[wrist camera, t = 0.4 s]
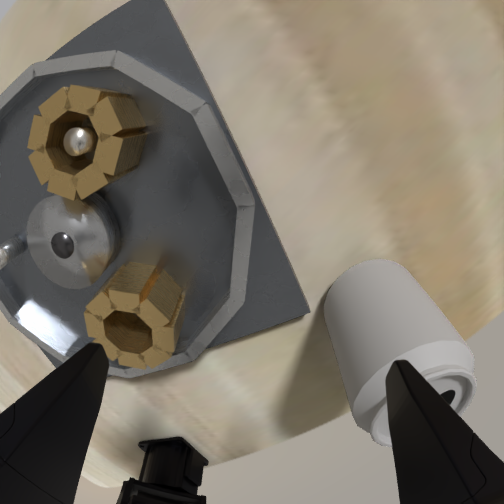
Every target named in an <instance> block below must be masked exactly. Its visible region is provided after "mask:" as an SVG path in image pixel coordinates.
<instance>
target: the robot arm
mask: <svg viewBox="0 0 504 504" xmlns="http://www.w3.org/2000/svg"><path fill="white" fill-rule="evenodd" d="M108 370H109V359H108V357H107V355H106V352H105V350H104V347H103V345H102V344H100V343H94V342H90V343H88V344H86V345H85V346H84V347H83V348H81V349H80V350H79V351H78V352H76V353H75V354H74V355H73V356H71V357H70V358H69V359H67V360H66V361H65V362H64V363H62V364H61V365H60V366H59V367H57V368H56V369H55V370H54V371H52V372H51V373H50V374H49V375H47V376H46V377H45V378H44V379H43V380H41V381H40V382H39V383H38V384H36V385H35V386H34V387H33V388H31V389H30V390H29V391H28V392H27V393H25V394H24V395H23V396H22V397H20V398H19V399H18V400H17V401H16V402H15V403H13V404H12V405H11V406H9V407H8V408H7V409H6V410H4V411H3V412H2V413H1V414H0V504H73V503H74V499H75V494H76V490H77V486H78V482H79V478H80V475H81V471H82V467H83V464H84V460H85V456H86V453H87V449H88V446H89V443H90V439H91V436H92V432H93V429H94V426H95V423H96V420H97V416H98V413H99V410H100V406H101V402H102V397H103V393H104V388H105V383H106V379H107V374H108ZM385 386H386V398H387V411H388V424H389V431H390V437H391V443H392V449H393V455H394V461H395V468H396V475H397V483H398V490H399V499H400V504H504V463H503V461H502V460H500V459H499V458H498V457H497V456H496V455H495V454H494V453H493V452H492V451H491V450H490V449H489V448H488V447H487V446H486V445H485V443H484V442H483V441H482V440H481V439H480V438H479V437H478V436H477V435H476V434H475V433H473V430H472V429H471V428H470V427H469V426H468V425H467V424H466V423H465V421H464V420H463V419H462V418H461V417H460V416H459V415H458V414H457V413H456V412H455V410H454V409H453V408H452V407H451V406H450V405H449V404H448V403H447V402H446V401H445V400H444V398H443V397H442V396H441V395H440V394H439V393H438V392H437V391H436V390H435V389H434V388H433V387H432V386H431V384H430V383H429V382H428V381H427V380H426V379H425V378H424V377H423V376H422V375H421V374H420V373H419V372H418V371H417V370H416V369H415V368H414V366H413V365H412V364H411V363H410V362H409V361H408V360H405V359H402V360H395V361H394V362H393V363H392V365H391V367H390V369H389V371H388V373H387V375H386V379H385ZM138 446H139V447H140V448H141V449H142V450H143V451H145V452H146V453H145V457H144V461H143V465H142V469H141V473H140V477H139V480H135V478H131V477H130V479H129V481H124V482H123V486H122V489H121V492H120V495H119V498H118V500H117V503H116V504H206V496H203V495H201V496H200V495H197V490H198V486H201V482H202V474H203V466H207V465H208V460H206V459H205V458H204V457H203V456H202V455H201V454H200V453H199V452H198V451H196V450H195V449H194V448H193V447H192V446H191V445H190V444H189V443H188V442H187V441H186V440H185V439H184V438H182V437H173V438H166V439H159V440H151V441H142V442H139V444H138Z"/></svg>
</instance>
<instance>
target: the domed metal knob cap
mask: <svg viewBox="0 0 504 504" xmlns="http://www.w3.org/2000/svg"><path fill="white" fill-rule="evenodd" d="M27 243H28V247H29V250H30V253H31V256H32V258H33V260H34V262H35V263H36V265H37V267H38V268H39V269H40V270H41V272H42V273H43V274H44V275H45V276H46V277H47V278H48V279H50V280H51V281H52V282H54V283H56V284H57V285H59V286H62V287H65V288H68V289H82V288H86V287H88V286H90V285H92V284H93V283H94V282H96V281H97V280H98V278H99V277H100V276H101V275H102V274H103V272H104V271H105V270H106V269H107V268H108V267H109V266H110V264H111V263H112V262H113V261H114V259H115V258H116V256H117V253H118V251H119V247H120V229H119V224H118V221H117V218H116V216H115V214H114V212H113V210H112V209H111V207H110V206H109V204H108V203H107V202H106V201H105V200H104V199H103V198H102V197H101V196H100V195H99V194H97V193H93V194H91V195H89V196H88V197H86V198H84V199H82V200H81V198H78V199H76V200H75V201H73V200H70V199H68V198H65V197H62V196H60V195H57V194H53V195H51V196H49V197H47V198H45V199H43V200H42V201H40V202H39V203H38V204H37V205H36V206H35V207H34V208H33V210H32V212H31V214H30V216H29V219H28V223H27Z"/></svg>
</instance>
